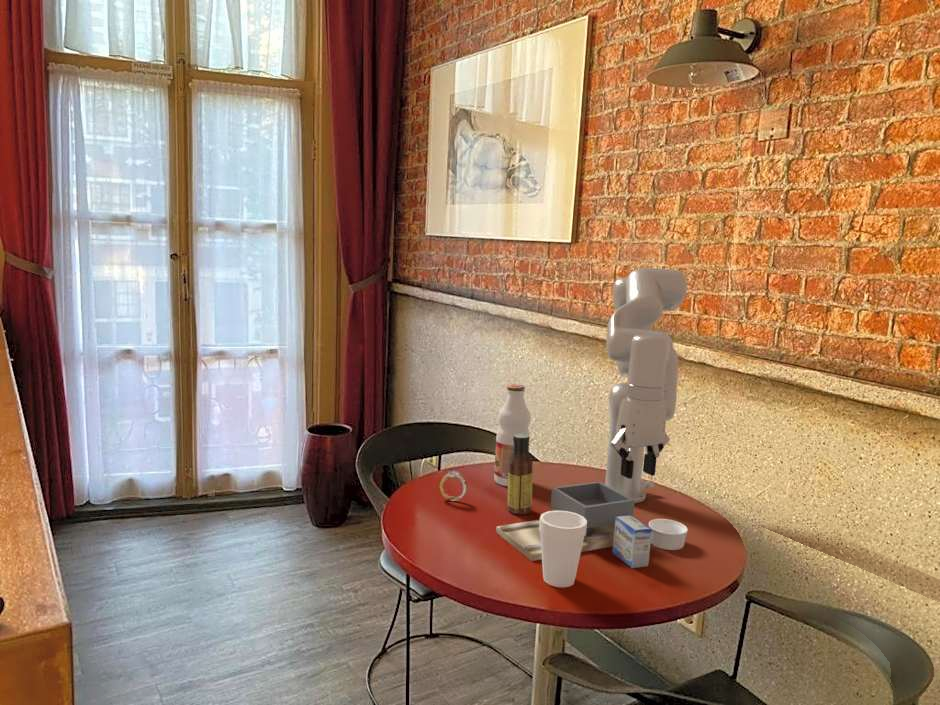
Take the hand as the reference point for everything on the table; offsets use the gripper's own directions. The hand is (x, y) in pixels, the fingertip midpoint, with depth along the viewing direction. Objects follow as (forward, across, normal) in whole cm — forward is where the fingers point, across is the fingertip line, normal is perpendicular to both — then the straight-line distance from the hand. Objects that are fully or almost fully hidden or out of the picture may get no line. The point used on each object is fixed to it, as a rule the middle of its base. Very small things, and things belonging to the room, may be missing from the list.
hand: (637, 474), depth 153 cm
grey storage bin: (+17, 0, -15) cm, 23 cm away
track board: (+19, +6, -15) cm, 25 cm away
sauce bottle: (+20, +9, -33) cm, 39 cm away
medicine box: (+20, 0, 0) cm, 20 cm away
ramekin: (+20, -14, -4) cm, 25 cm away
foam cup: (+20, +20, +2) cm, 28 cm away
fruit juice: (+20, 0, -53) cm, 57 cm away
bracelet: (+20, +22, -45) cm, 54 cm away
